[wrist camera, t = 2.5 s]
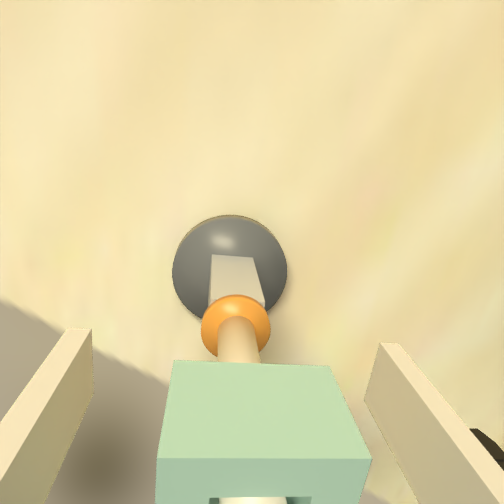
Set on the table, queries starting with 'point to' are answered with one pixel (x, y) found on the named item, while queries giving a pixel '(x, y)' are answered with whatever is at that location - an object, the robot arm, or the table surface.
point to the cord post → (231, 291)
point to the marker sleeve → (258, 436)
